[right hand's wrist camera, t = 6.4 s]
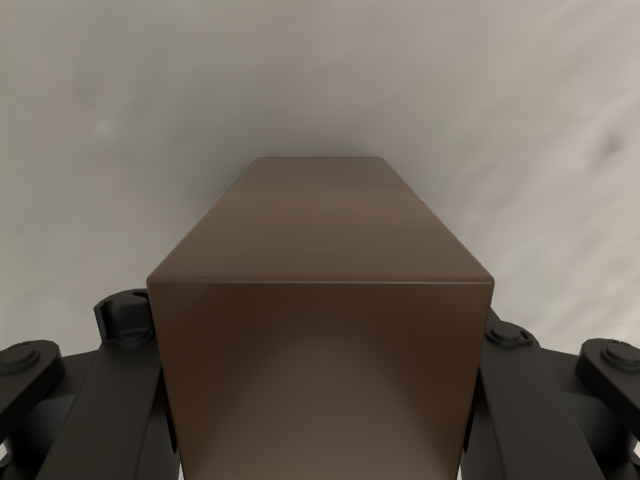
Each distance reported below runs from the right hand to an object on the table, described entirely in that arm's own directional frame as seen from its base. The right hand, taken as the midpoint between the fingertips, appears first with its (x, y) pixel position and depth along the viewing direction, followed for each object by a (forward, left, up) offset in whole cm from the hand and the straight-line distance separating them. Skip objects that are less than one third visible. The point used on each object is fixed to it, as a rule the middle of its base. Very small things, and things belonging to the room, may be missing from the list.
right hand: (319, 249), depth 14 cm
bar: (+10, 0, -1) cm, 10 cm away
